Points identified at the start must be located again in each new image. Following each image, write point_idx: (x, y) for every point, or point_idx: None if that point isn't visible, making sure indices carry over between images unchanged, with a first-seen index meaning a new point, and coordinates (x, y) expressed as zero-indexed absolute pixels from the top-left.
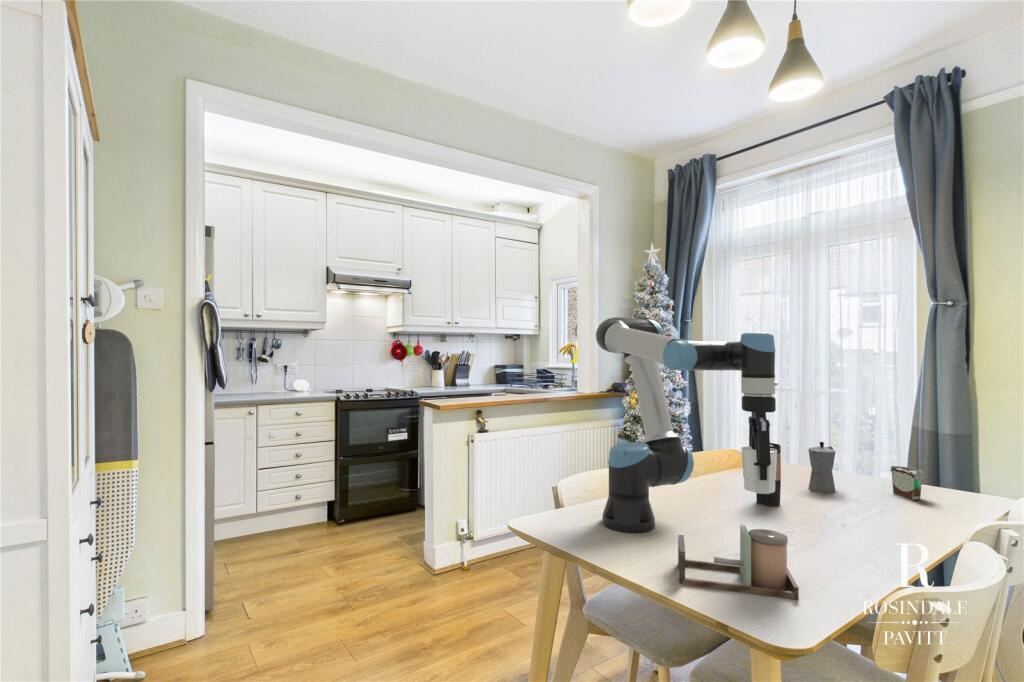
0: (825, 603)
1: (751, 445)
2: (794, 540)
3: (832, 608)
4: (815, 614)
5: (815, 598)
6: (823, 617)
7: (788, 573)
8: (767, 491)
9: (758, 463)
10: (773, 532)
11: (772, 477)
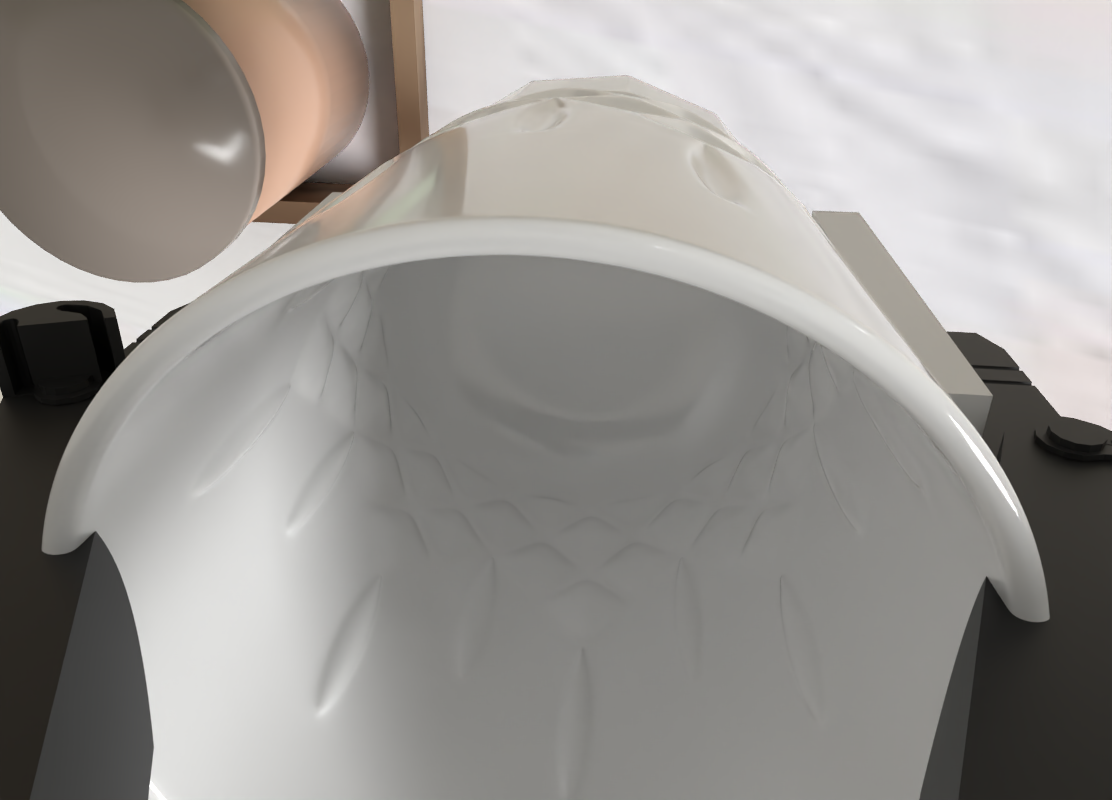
0: (165, 312)
1: (989, 645)
2: (1098, 424)
3: (124, 326)
4: (14, 230)
5: (201, 283)
6: (3, 257)
7: (287, 211)
8: None
9: (16, 400)
10: (202, 203)
11: (417, 499)
